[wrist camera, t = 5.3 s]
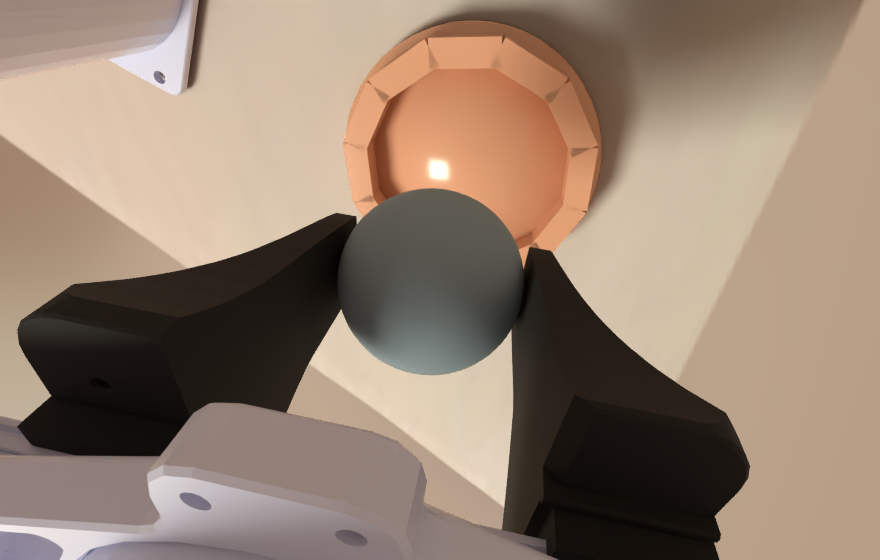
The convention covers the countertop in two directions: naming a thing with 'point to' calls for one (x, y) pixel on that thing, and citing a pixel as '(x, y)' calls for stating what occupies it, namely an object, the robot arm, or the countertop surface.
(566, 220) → the bowl
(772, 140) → the countertop surface
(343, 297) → the ball
